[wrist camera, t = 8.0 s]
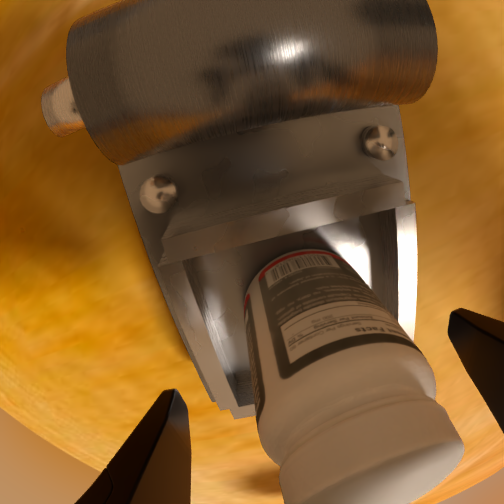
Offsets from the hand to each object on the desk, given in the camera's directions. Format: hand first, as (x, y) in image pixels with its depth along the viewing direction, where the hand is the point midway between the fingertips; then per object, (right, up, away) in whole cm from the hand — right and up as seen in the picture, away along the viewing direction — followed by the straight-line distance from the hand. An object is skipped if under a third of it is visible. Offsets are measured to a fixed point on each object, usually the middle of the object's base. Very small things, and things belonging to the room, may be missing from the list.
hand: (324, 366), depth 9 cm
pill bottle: (0, +2, +4) cm, 4 cm away
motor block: (-1, +6, +4) cm, 7 cm away
